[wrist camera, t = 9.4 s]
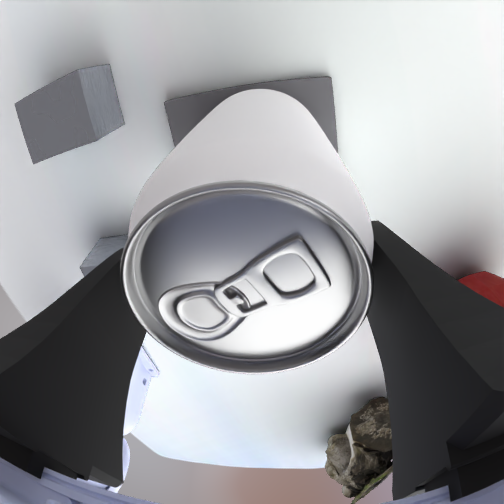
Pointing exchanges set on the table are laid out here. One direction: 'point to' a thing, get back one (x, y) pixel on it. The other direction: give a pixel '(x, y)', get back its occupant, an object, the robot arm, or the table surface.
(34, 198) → the table surface
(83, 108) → the block
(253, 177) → the can
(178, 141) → the mat
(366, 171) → the table surface
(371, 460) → the hollow geode rock
